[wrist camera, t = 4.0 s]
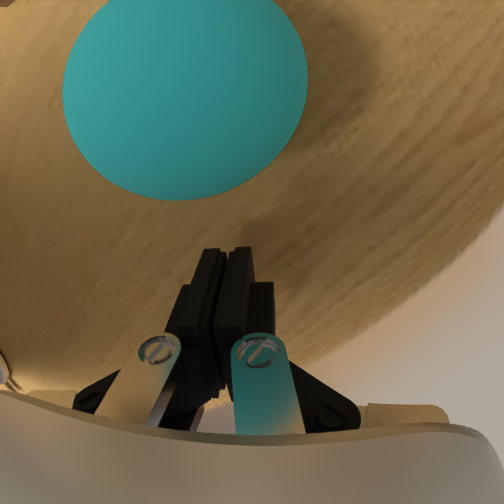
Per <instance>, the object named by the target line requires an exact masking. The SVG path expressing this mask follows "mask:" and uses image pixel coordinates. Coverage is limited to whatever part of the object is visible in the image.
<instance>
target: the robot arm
mask: <svg viewBox="0 0 504 504" xmlns="http://www.w3.org/2000/svg"><path fill="white" fill-rule="evenodd" d="M8 377H9V371H8V368H7V365H6V363H5V361H4V359H3V357H2V355H1V354H0V384H4V383H5V382H6V381H7V379H8ZM226 384H227V388H228V391H229V395H230V398H231V401H232V402H234V414H235V428H236V435H234V434H215V433H201V432H197V429H198V426H199V423H200V421H201V418H202V415H203V413H204V404H205V403H206V402H208V401H209V400H211V398H218V397H219V391H220V389H221V390H224V389H225V386H226ZM0 504H504V470H503V467H502V464H501V462H500V460H499V458H498V455H497V453H496V451H495V449H494V448H493V446H492V444H491V443H490V442H489V440H488V439H487V438H486V437H485V436H484V435H483V434H482V433H480V432H479V431H477V430H475V429H472V428H469V427H466V426H462V425H457V424H451V423H449V419H448V416H447V414H446V413H445V412H444V410H443V409H441V408H439V407H438V406H434V405H399V404H398V405H397V404H395V405H394V404H373V403H368V405H367V406H356V405H355V404H354V403H353V402H352V401H351V400H349V399H347V398H346V397H344V396H342V395H341V394H339V393H338V392H336V391H335V390H333V389H332V388H330V387H329V386H327V385H325V384H324V383H322V382H321V381H319V380H318V379H316V378H315V377H313V376H312V375H310V374H308V373H307V372H306V371H304V370H303V369H301V368H300V367H298V366H297V365H295V364H294V363H292V362H291V361H289V360H288V356H287V352H286V348H285V346H284V344H283V342H282V341H281V340H280V339H279V338H278V337H276V336H275V299H274V283H273V282H255V277H254V268H253V258H252V249H251V246H250V247H235V251H230V252H229V256H228V260H227V255H226V252H221V250H220V248H212V249H204V250H203V253H202V255H201V258H200V261H199V263H198V266H197V268H196V271H195V274H194V276H193V279H192V282H191V284H185V285H183V286H182V288H181V290H180V292H179V295H178V297H177V300H176V302H175V305H174V308H173V310H172V313H171V315H170V318H169V320H168V323H167V326H166V328H165V331H164V332H158V333H153V334H150V335H148V336H146V337H144V338H143V339H141V340H140V341H139V342H138V344H137V345H136V346H135V348H134V349H133V351H132V352H131V354H130V356H129V357H128V359H127V360H126V362H125V364H124V365H123V367H122V368H121V369H119V370H118V371H116V372H114V373H112V374H110V375H109V376H107V377H105V378H103V379H101V380H99V381H97V382H96V383H94V384H92V385H90V386H88V387H86V388H85V389H83V390H82V391H80V392H79V393H77V391H56V390H34V391H30V392H29V393H27V394H26V395H24V394H21V393H18V392H13V391H7V390H0Z"/></svg>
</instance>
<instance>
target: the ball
mask: <svg viewBox="0 0 504 504" xmlns="http://www.w3.org/2000/svg"><path fill="white" fill-rule="evenodd" d="M307 89H308V66H307V61H306V56H305V51H304V48H303V45H302V43H301V40H300V37H299V35H298V33H297V31H296V30H295V28H294V26H293V24H292V22H291V21H290V20H289V18H288V17H287V16H286V14H285V13H284V12H283V11H282V9H281V8H280V7H279V6H278V5H277V4H276V3H275V2H274V1H273V0H110V1H109V2H107V3H106V4H105V5H104V6H103V7H102V8H101V9H100V10H98V11H97V12H96V13H95V15H94V16H93V17H92V18H91V19H90V20H89V21H88V23H87V24H86V25H85V27H84V28H83V30H82V31H81V33H80V34H79V36H78V38H77V40H76V41H75V43H74V45H73V47H72V50H71V52H70V55H69V58H68V60H67V64H66V68H65V72H64V79H63V87H62V100H63V109H64V115H65V119H66V123H67V126H68V129H69V132H70V134H71V137H72V139H73V141H74V143H75V144H76V146H77V148H78V149H79V151H80V152H81V154H82V155H83V156H84V158H85V159H86V160H87V161H88V163H89V164H90V165H91V166H92V167H93V168H94V169H95V170H96V171H97V172H98V173H100V174H101V175H102V176H103V177H104V178H106V179H107V180H109V181H110V182H112V183H113V184H115V185H117V186H119V187H121V188H123V189H125V190H127V191H129V192H132V193H135V194H138V195H141V196H144V197H148V198H153V199H159V200H171V201H180V200H194V199H200V198H205V197H210V196H213V195H217V194H220V193H223V192H226V191H228V190H230V189H232V188H235V187H237V186H239V185H241V184H242V183H244V182H246V181H247V180H249V179H251V178H252V177H254V176H255V175H257V174H258V173H259V172H260V171H262V170H263V169H264V168H265V167H267V166H268V165H269V164H270V163H271V162H272V161H273V160H274V159H275V158H276V157H277V156H278V155H279V154H280V152H281V151H282V150H283V148H284V147H285V146H286V144H287V143H288V142H289V140H290V138H291V137H292V135H293V133H294V131H295V130H296V128H297V126H298V123H299V121H300V118H301V116H302V113H303V110H304V106H305V102H306V98H307Z"/></svg>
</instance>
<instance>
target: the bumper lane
mask: <svg viewBox="0 0 504 504" xmlns="http://www.w3.org/2000/svg"><path fill="white" fill-rule="evenodd" d="M13 1H14V0H0V7H7V6H8V5H9V4H11V3H12V2H13Z"/></svg>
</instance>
